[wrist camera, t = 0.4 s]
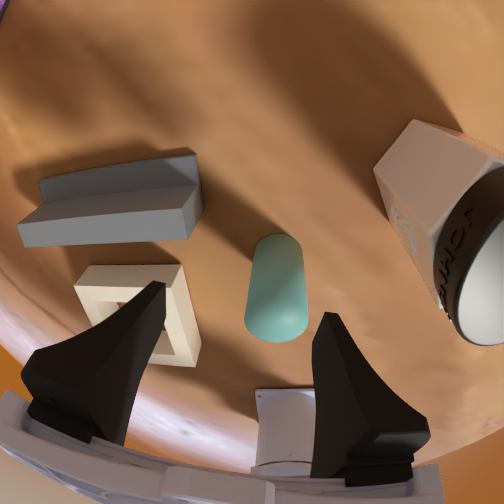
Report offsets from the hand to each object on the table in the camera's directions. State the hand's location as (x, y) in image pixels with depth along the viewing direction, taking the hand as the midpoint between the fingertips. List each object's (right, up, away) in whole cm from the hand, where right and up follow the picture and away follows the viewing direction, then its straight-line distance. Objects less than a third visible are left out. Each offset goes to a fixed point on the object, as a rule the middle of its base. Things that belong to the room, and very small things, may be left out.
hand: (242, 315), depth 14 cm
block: (-9, -2, +14) cm, 16 cm away
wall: (-10, +7, +8) cm, 15 cm away
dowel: (+2, +3, +10) cm, 10 cm away
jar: (+13, +8, +5) cm, 16 cm away
